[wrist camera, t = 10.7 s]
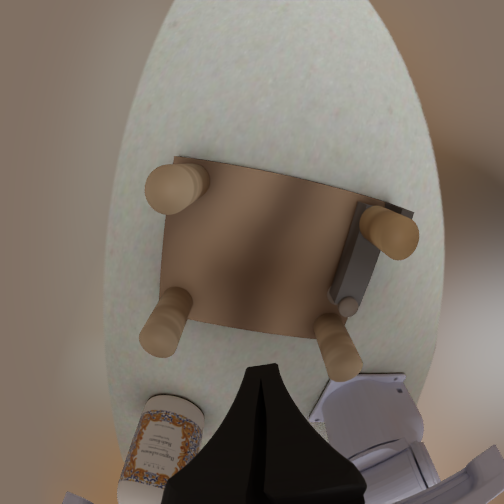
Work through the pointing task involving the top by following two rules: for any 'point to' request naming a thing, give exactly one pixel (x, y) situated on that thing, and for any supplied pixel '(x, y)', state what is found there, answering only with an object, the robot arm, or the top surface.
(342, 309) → the grey bar with knob
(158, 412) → the bath foam
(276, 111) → the top surface
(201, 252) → the stool board
